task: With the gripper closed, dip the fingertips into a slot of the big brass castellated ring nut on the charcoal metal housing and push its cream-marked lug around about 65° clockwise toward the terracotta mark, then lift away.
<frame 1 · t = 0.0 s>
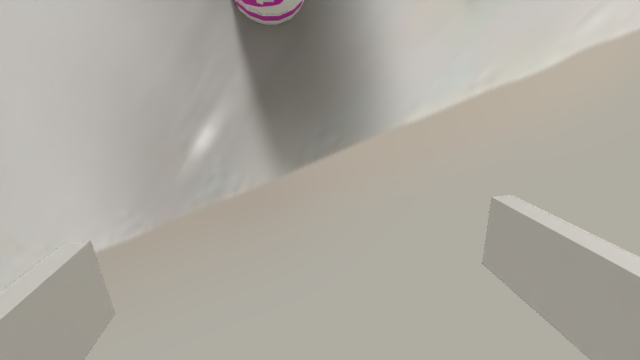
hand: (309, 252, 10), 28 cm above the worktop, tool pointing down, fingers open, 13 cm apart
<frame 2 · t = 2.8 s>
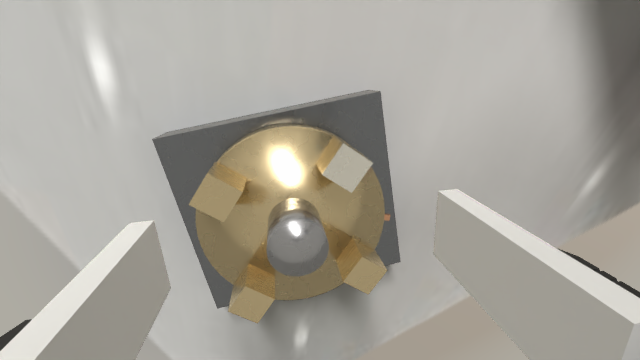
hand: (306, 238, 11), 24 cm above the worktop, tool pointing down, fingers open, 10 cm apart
housing: (290, 195, 36), on the worktop
ring nut: (294, 227, 28), point 8 cm above the worktop, hinge at 0.0°
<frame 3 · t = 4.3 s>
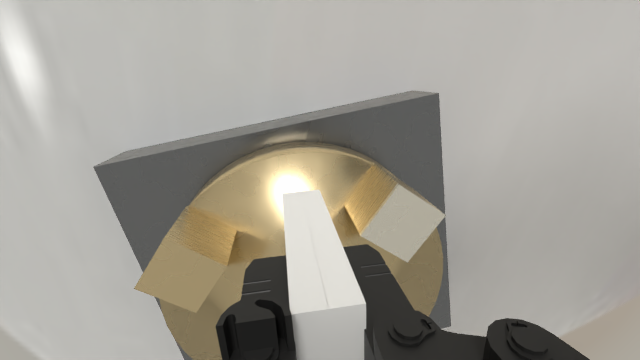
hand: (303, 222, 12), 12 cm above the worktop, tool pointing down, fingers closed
housing: (300, 234, 26), on the worktop
ring nut: (310, 301, 18), point 8 cm above the worktop, hinge at 0.0°
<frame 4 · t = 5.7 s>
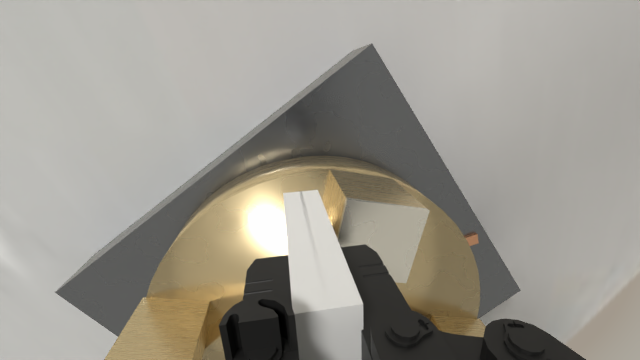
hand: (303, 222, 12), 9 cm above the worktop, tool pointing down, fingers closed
housing: (309, 256, 23), on the worktop
ring nut: (325, 347, 15), point 8 cm above the worktop, hinge at -2.5°, touching gripper
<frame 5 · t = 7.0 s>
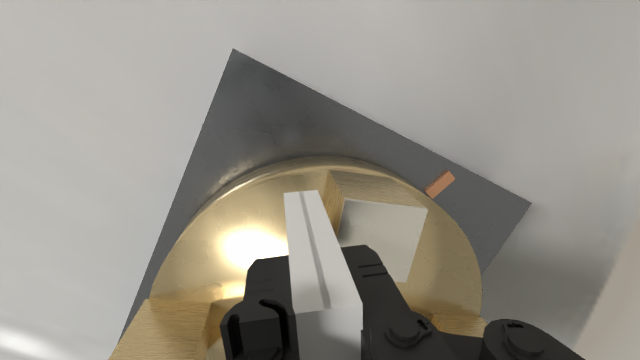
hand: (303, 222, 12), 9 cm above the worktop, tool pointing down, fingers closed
housing: (311, 256, 23), on the worktop
ring nut: (327, 347, 15), point 8 cm above the worktop, hinge at -28.6°, touching gripper
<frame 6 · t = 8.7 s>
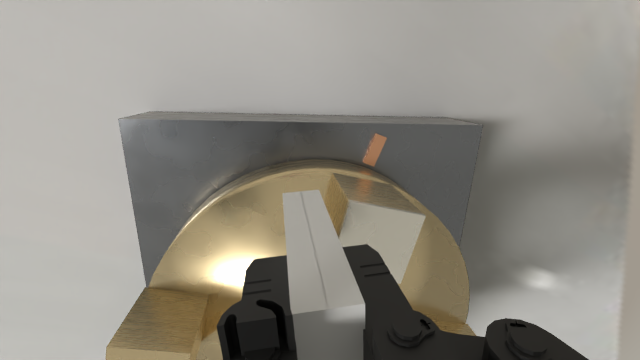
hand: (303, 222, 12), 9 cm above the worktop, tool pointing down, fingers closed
housing: (305, 257, 24), on the worktop
ring nut: (319, 344, 16), point 8 cm above the worktop, hinge at -57.2°, touching gripper
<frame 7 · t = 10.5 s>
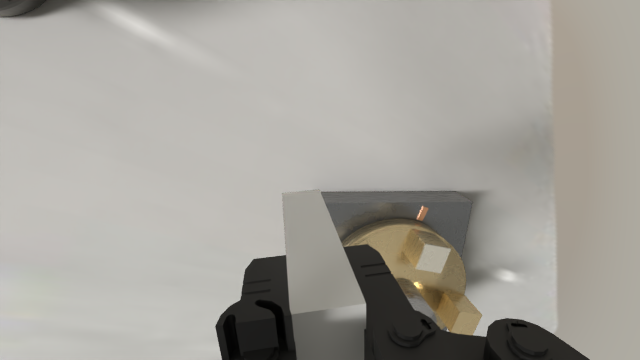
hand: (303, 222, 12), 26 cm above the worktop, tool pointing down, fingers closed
housing: (378, 262, 44), on the worktop
ring nut: (400, 300, 36), point 8 cm above the worktop, hinge at -57.9°
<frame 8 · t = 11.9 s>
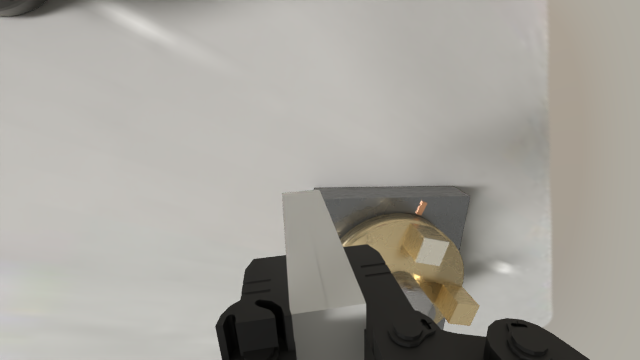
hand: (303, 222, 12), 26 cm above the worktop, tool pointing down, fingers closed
housing: (378, 256, 45), on the worktop
ring nut: (400, 293, 37), point 8 cm above the worktop, hinge at -57.9°
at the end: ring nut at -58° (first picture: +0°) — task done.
